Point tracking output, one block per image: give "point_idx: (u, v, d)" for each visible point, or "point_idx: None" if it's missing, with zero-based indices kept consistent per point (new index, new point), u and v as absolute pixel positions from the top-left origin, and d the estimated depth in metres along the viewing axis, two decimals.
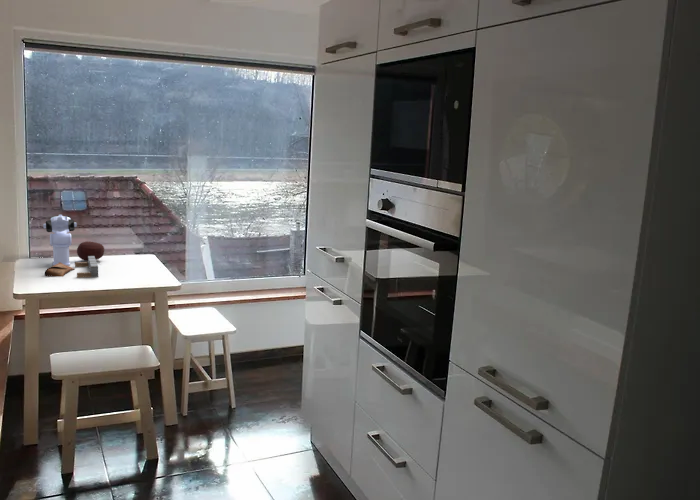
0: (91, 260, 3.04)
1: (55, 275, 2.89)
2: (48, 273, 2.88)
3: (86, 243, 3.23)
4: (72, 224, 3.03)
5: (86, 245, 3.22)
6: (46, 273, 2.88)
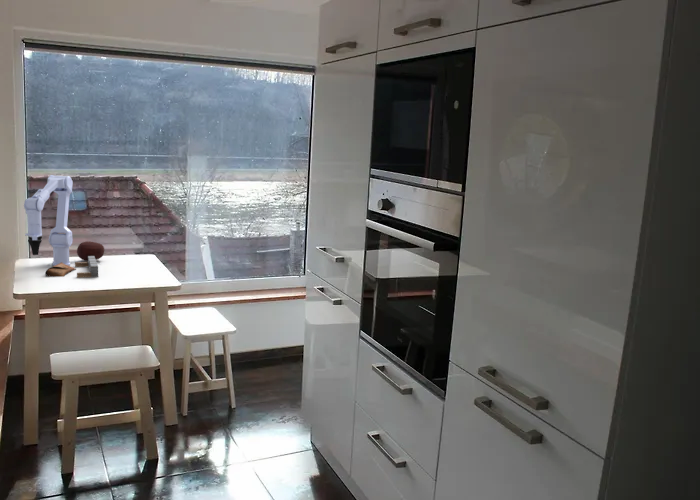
0: (91, 260, 3.04)
1: (56, 275, 2.89)
2: (49, 273, 2.88)
3: (86, 243, 3.23)
4: (34, 241, 2.86)
5: (86, 245, 3.22)
6: (47, 273, 2.88)
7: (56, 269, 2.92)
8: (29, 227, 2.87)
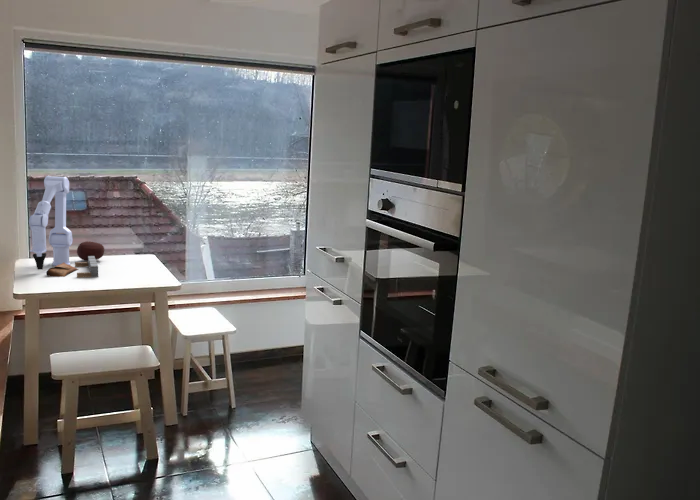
0: (91, 260, 3.04)
1: (57, 275, 2.89)
2: (50, 273, 2.88)
3: (86, 243, 3.23)
4: None
5: (86, 245, 3.22)
6: (48, 273, 2.88)
7: (57, 269, 2.92)
8: (34, 243, 2.89)
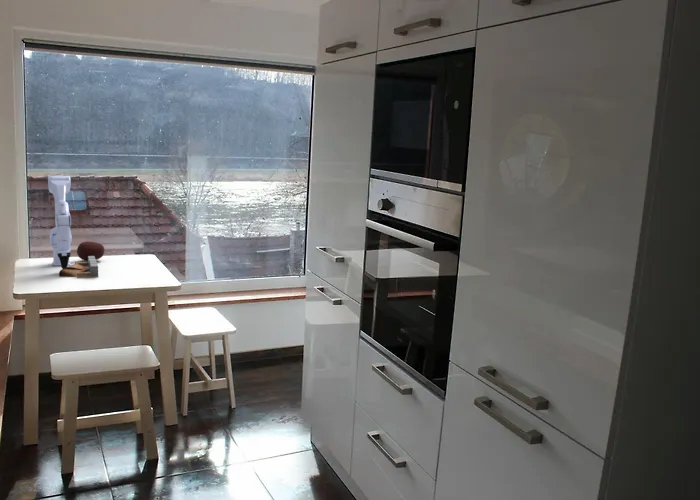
0: (91, 260, 3.04)
1: (69, 276, 2.90)
2: (63, 274, 2.89)
3: (86, 243, 3.23)
4: (63, 255, 2.95)
5: (86, 245, 3.22)
6: (61, 273, 2.89)
7: (70, 270, 2.93)
8: (58, 243, 2.93)
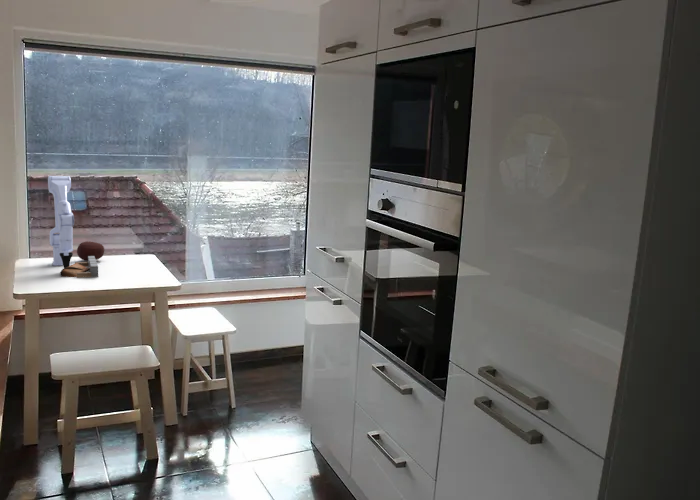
0: (91, 260, 3.04)
1: (70, 275, 2.90)
2: (63, 273, 2.89)
3: (86, 243, 3.23)
4: None
5: (86, 245, 3.22)
6: (61, 273, 2.89)
7: (71, 269, 2.93)
8: (61, 242, 2.94)
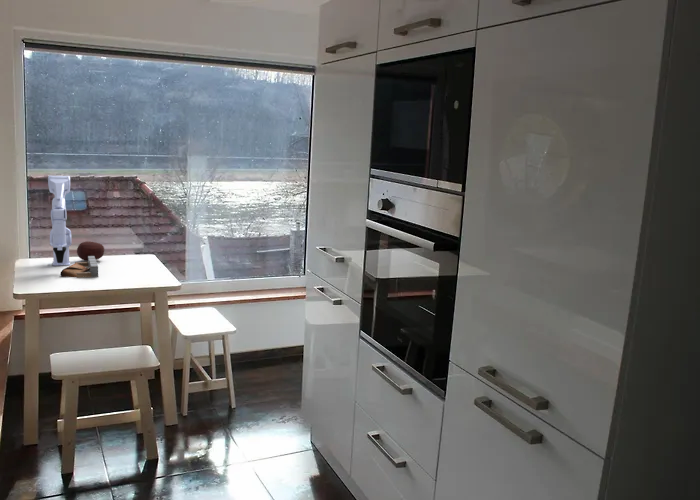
0: (91, 260, 3.04)
1: (71, 276, 2.90)
2: (64, 274, 2.89)
3: (86, 243, 3.23)
4: (58, 250, 2.94)
5: (86, 245, 3.22)
6: (62, 274, 2.89)
7: (71, 270, 2.93)
8: (54, 237, 2.92)
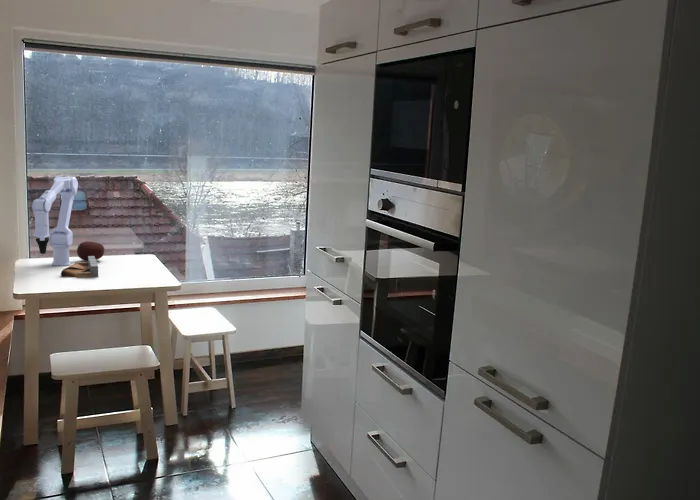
0: (91, 260, 3.04)
1: (71, 276, 2.90)
2: (64, 274, 2.89)
3: (86, 243, 3.23)
4: (41, 240, 2.95)
5: (86, 245, 3.22)
6: (62, 274, 2.89)
7: (71, 269, 2.92)
8: (37, 228, 2.93)
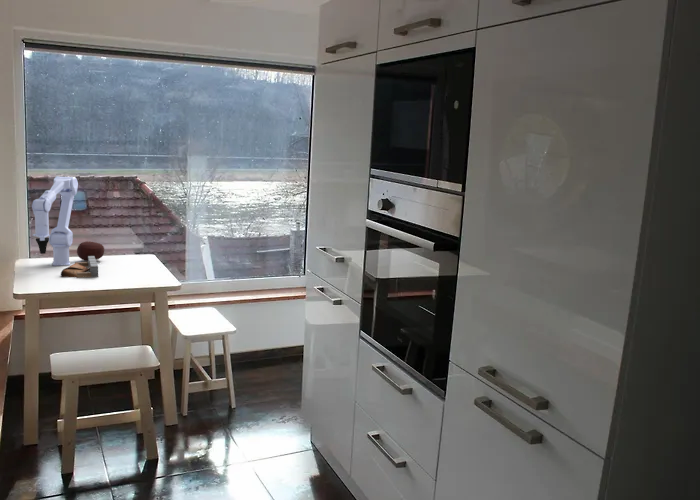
0: (91, 260, 3.04)
1: (71, 276, 2.89)
2: (64, 274, 2.89)
3: (86, 243, 3.23)
4: (41, 240, 2.95)
5: (86, 245, 3.22)
6: (62, 274, 2.89)
7: (71, 270, 2.92)
8: (37, 228, 2.93)
